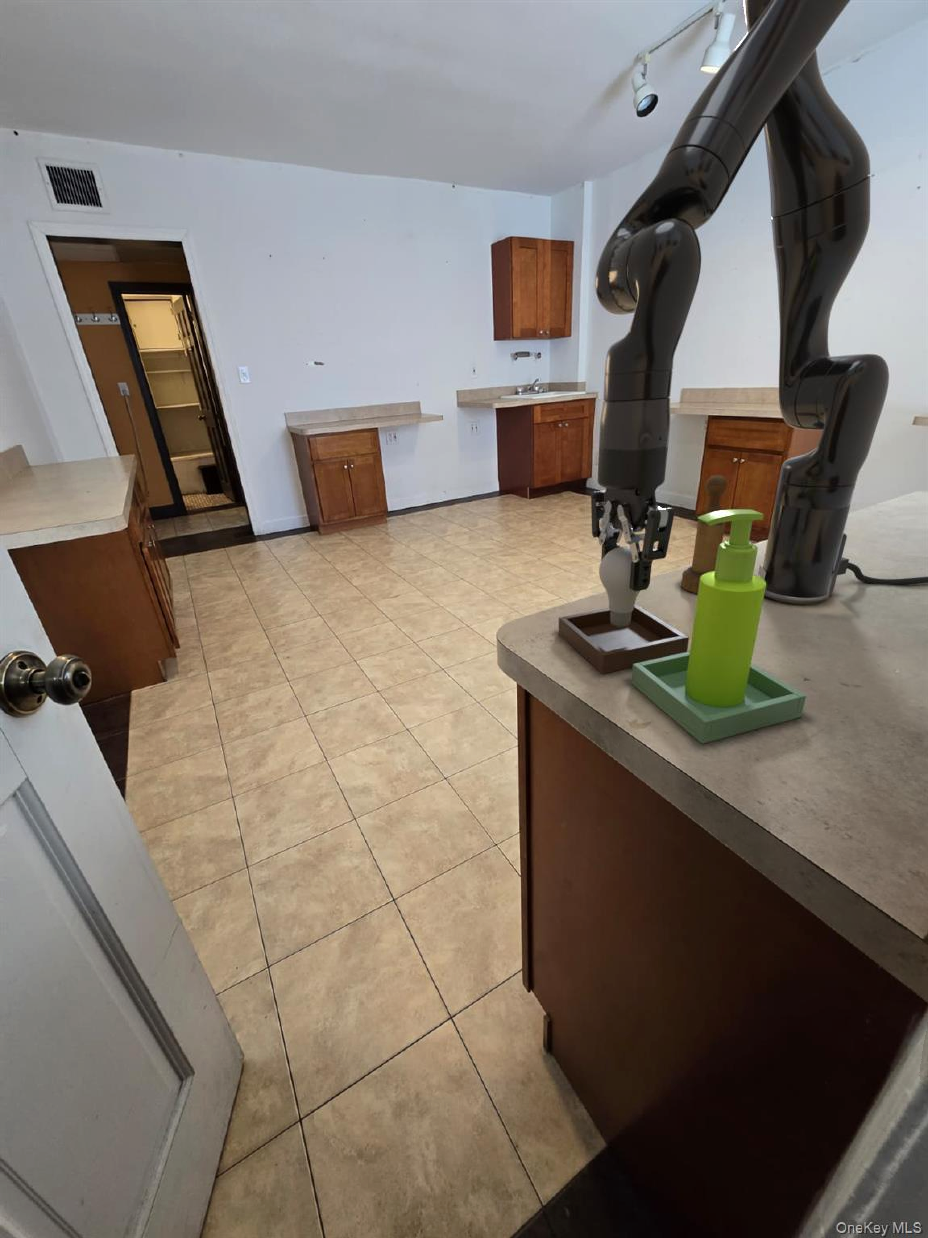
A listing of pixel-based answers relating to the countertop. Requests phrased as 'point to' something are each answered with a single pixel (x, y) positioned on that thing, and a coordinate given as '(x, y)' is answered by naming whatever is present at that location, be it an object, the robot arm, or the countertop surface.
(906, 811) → the countertop surface
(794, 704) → the green tray
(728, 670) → the soap dispenser
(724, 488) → the wooden pepper mill
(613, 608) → the lightbulb
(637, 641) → the walnut tray
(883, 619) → the countertop surface
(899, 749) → the countertop surface
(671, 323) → the robot arm
